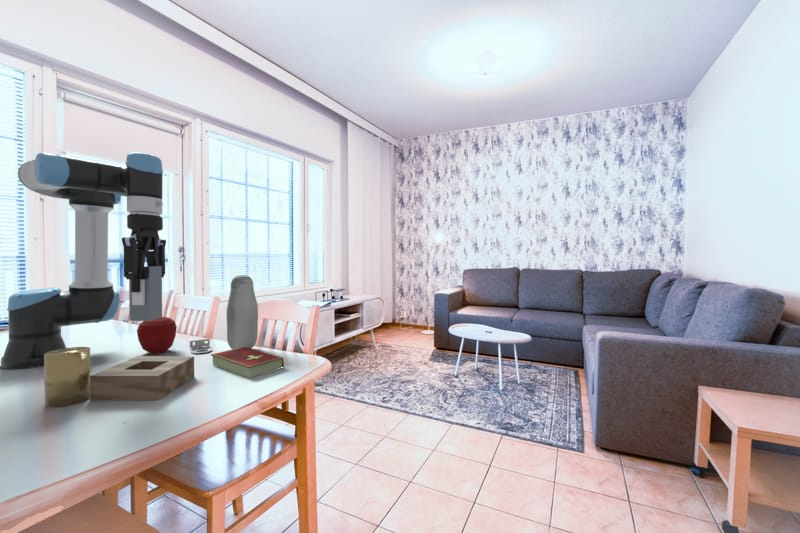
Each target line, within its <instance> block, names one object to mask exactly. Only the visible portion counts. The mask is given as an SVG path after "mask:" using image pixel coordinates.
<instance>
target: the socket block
mask: <svg viewBox="0 0 800 533" xmlns="http://www.w3.org/2000/svg"><path fill="white" fill-rule="evenodd" d="M193 378H195V356H194V355H193V356H187V355H186V356H175V355H174V356H170V355H169V356H165V355H161V356H160V355H159V356H156V355H155V356H154V355H153V356H150V355H149V356H147V355H144V356H140V355H139V356H138V355H137V356H134V357H132V358H130V359H127V360H124V361H123V362H120V363H117V364H114V365H113V366H110V367H108V368H106V369H103V370H101V371H98V372H96V373H94V374H92V375H91V376H90V398H89V400H90V401H159V400H161V399H162V398H164V397H166V396H167V395H168V394H170V393H172V392H173V391H175V390H176V389H178V388H180V387H181V386H182V385H184V384H185V383H187V382H189V381H190V380H192V379H193Z"/></svg>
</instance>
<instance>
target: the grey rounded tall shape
mask: <svg viewBox="0 0 800 533" xmlns="http://www.w3.org/2000/svg"><path fill="white" fill-rule="evenodd" d="M254 289H255V288H254V281H253V279H252V278H251V277H250V276H249V275H244V274H242V275H241V274H239V275H236V276H234V277H233V278H232V279H231V283H230V293H229V297H228V302H227V306H226V338H227V340H226V341H227V344H228V346H229V347H230V350H232V349H237V348H241V347H247V348H251V349H254V347H255V345H256V343H257V341H258V333H259V331H258V330H259V329H258V324H259V323H258V321H259V305H258V301H257V297H256V294H255V290H254Z"/></svg>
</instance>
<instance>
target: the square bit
mask: <svg viewBox="0 0 800 533" xmlns="http://www.w3.org/2000/svg"><path fill="white" fill-rule="evenodd" d="M129 273H130V272H129ZM142 279H145V305H132V291H131V279H128V281H129V282H128V285H129V286H128V287H129V288H128V289H129V293H128V297H129V301H128V302H129V321H130V322H143V321H151V320H155V319H159V318H162V317H163V278H162V266H147V265H144V270H143V276H142Z"/></svg>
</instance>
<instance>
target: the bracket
mask: <svg viewBox="0 0 800 533" xmlns="http://www.w3.org/2000/svg"><path fill="white" fill-rule="evenodd" d="M210 340H211V339H210V338H204V339H196V340H190V341H189V349H190V348H196V349H195V350H196V351H192V353H191V354H194V355H196V354H205V353H209V352H210V351H211V352H212V351H213V349H212V350H208V349H207V348H199V349H200V350H198V348H197V347H203V346H209V345H210V346H211V343H210V342H211V341H210Z"/></svg>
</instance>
